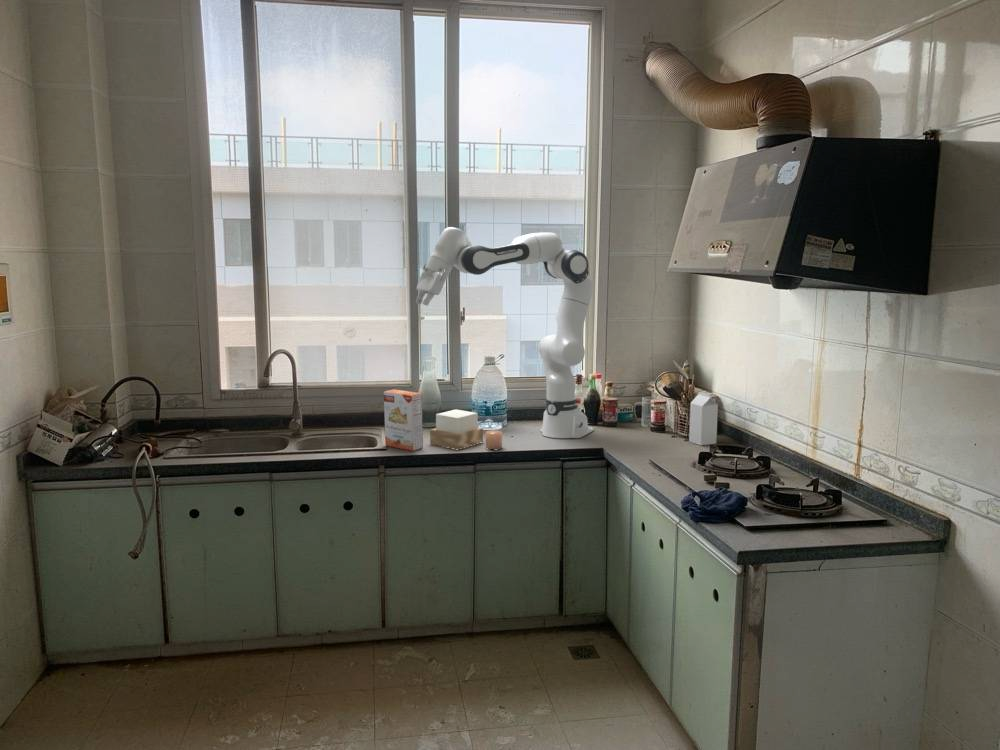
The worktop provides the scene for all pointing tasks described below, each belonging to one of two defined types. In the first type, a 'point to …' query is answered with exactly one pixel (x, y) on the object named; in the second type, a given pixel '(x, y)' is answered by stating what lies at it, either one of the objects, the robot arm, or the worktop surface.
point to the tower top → (456, 421)
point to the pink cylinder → (493, 439)
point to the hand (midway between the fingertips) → (421, 304)
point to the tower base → (456, 438)
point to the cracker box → (403, 419)
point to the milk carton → (703, 420)
